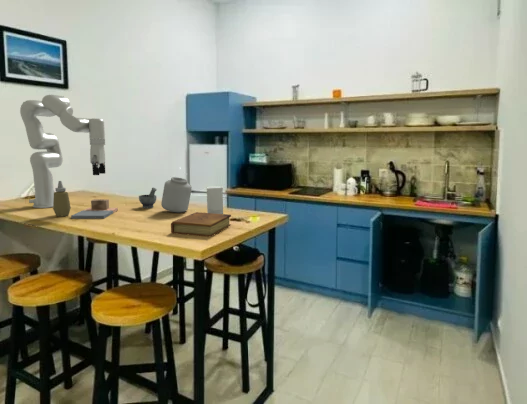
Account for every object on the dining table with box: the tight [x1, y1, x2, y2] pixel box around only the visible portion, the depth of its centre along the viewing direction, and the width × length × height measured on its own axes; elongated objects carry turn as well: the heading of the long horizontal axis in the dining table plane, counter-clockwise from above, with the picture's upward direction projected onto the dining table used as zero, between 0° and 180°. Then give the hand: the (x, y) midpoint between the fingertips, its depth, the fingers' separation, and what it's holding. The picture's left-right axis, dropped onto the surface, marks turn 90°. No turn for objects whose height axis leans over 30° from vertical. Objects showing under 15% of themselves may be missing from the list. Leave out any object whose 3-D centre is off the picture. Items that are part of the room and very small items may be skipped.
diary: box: [170, 211, 232, 237], centre depth 176 cm, size 23×19×6 cm
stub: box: [82, 198, 118, 214], centre depth 212 cm, size 16×8×6 cm, turn 94°
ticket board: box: [70, 209, 114, 220], centre depth 201 cm, size 16×14×2 cm
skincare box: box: [206, 185, 224, 214], centre depth 204 cm, size 8×7×16 cm
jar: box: [160, 167, 193, 214], centre depth 214 cm, size 19×15×25 cm
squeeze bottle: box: [52, 180, 72, 217], centre depth 200 cm, size 8×8×18 cm
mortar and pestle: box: [138, 187, 158, 209], centre depth 227 cm, size 11×9×12 cm
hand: (99, 174), depth 210 cm, fingers open, 9 cm apart
